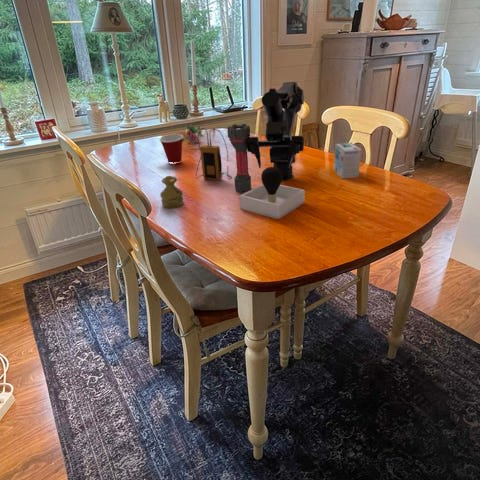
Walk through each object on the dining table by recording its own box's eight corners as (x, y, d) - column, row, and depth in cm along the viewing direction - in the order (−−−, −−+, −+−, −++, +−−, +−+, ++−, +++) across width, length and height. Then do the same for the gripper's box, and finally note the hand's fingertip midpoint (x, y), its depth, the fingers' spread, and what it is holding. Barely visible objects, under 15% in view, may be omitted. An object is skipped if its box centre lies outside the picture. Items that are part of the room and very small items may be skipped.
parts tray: (240, 208, 118) (239, 195, 116) (267, 194, 128) (266, 181, 126) (278, 219, 109) (278, 205, 107) (304, 202, 119) (304, 189, 117)
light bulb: (275, 209, 114) (276, 172, 108) (257, 204, 118) (256, 169, 111) (286, 201, 119) (286, 166, 113) (268, 197, 122) (267, 163, 116)
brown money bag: (174, 210, 120) (169, 181, 115) (157, 206, 123) (152, 178, 118) (188, 202, 125) (184, 174, 120) (172, 199, 129) (167, 171, 124)
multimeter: (238, 173, 149) (235, 123, 139) (227, 181, 141) (223, 129, 132) (207, 170, 155) (202, 122, 145) (195, 178, 147) (189, 128, 137)
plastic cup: (158, 165, 165) (154, 139, 160) (171, 158, 174) (167, 133, 168) (179, 167, 162) (175, 140, 156) (190, 160, 170) (187, 134, 165)
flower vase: (197, 149, 217) (204, 150, 184) (176, 144, 214) (180, 145, 181) (200, 129, 215) (208, 126, 182) (180, 124, 212) (183, 120, 179)
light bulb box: (333, 170, 146) (335, 143, 141) (349, 168, 147) (351, 142, 142) (341, 178, 137) (344, 150, 132) (359, 177, 137) (362, 149, 132)
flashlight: (237, 195, 128) (233, 129, 117) (228, 189, 134) (223, 125, 123) (256, 190, 131) (254, 125, 120) (246, 184, 137) (243, 122, 126)
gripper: (244, 111, 115) (241, 156, 111) (304, 109, 112) (303, 155, 108) (249, 130, 126) (246, 171, 122) (303, 129, 123) (302, 171, 119)
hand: (273, 167), depth 117 cm, fingers open, 9 cm apart
